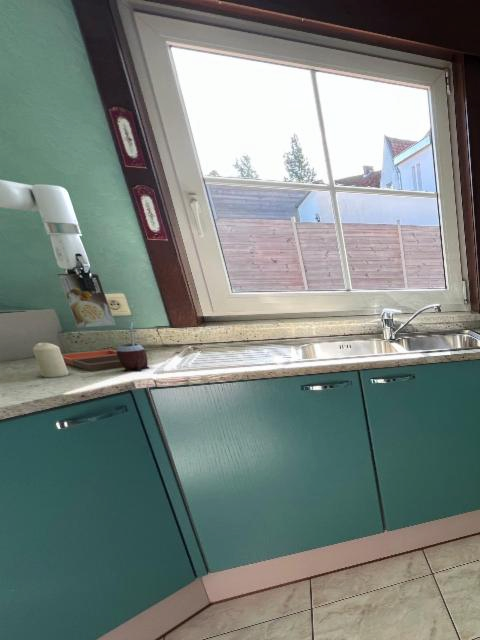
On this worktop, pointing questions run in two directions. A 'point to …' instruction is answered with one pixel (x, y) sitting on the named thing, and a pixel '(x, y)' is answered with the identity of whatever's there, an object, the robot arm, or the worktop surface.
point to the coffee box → (86, 302)
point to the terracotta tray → (87, 355)
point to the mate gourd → (132, 355)
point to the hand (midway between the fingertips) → (83, 289)
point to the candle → (50, 360)
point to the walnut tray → (98, 363)
